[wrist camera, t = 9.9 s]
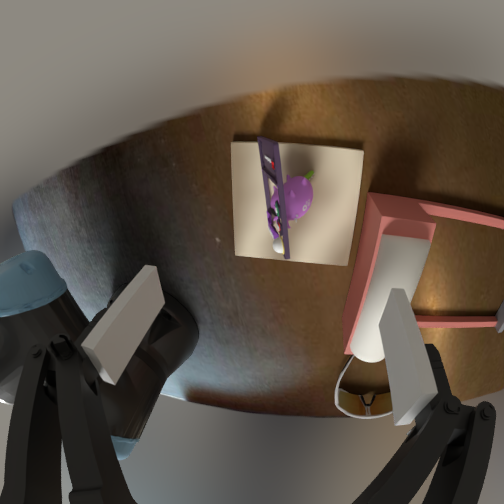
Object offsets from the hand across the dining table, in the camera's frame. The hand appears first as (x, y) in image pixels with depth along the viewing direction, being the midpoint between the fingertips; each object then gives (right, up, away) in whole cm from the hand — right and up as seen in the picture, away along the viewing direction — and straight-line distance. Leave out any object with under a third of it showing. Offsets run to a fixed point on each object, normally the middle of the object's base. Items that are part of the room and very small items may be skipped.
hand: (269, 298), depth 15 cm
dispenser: (+23, 0, +11) cm, 26 cm away
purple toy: (+3, +9, +10) cm, 14 cm away
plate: (+3, +7, +12) cm, 14 cm away
